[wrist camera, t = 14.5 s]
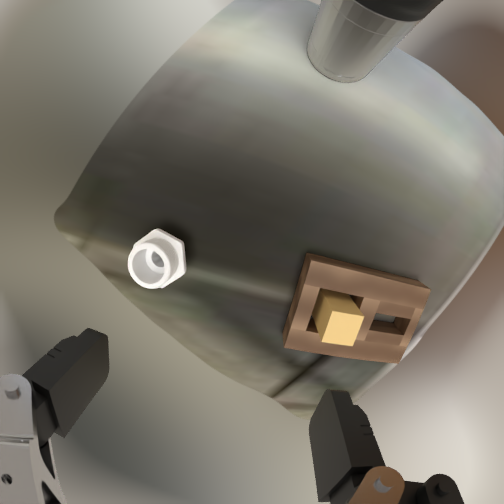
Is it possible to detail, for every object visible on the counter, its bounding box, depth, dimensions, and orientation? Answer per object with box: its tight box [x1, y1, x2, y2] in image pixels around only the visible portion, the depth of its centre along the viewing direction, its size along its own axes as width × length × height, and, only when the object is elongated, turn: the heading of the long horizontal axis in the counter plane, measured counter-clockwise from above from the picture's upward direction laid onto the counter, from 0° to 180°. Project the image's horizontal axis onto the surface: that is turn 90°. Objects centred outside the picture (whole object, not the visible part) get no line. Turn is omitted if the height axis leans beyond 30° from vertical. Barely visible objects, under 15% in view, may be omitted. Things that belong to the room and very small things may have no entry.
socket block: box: [283, 253, 431, 364], centre depth 36 cm, size 12×18×4 cm, turn 77°
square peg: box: [312, 288, 364, 346], centre depth 34 cm, size 4×4×8 cm
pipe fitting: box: [128, 228, 187, 289], centre depth 33 cm, size 6×7×8 cm
